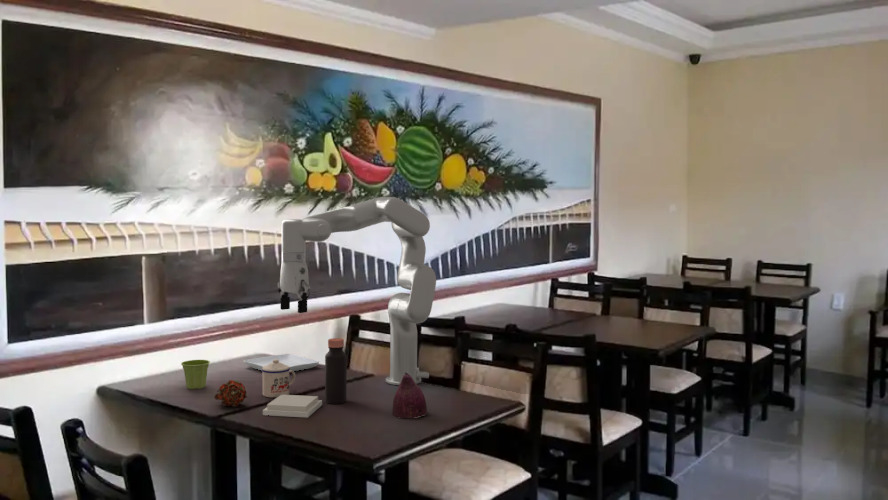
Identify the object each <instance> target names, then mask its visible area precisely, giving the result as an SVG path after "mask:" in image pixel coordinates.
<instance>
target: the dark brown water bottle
mask: <svg viewBox="0 0 888 500" xmlns="http://www.w3.org/2000/svg"><path fill="white" fill-rule="evenodd" d="M344 340H345V339H344V338H337V337H335V338H333V337H332V338H329V339H328V340H327V347H328V349H329V350H328V352H327V353H326V354H325V357H324V363H325V364H324V365H325V367H324V370H325V371H324V374H325V376H324V379H325V380H324V383H325V384H324V391H325V392H324V401H325V403H326V404H330V405H331V404H332V405H338V404H343V403H345V402H347V396H348V395H347V390H348V387H347V384H348V383H347V382H348V381H347V378H348V377H347V375H348V371H347V369H348V368H347V366H348V364H347V362H348V361H347V357H348V356H347V354H346V352H345V351H344V349H343V348H344V345H345V342H344Z"/></svg>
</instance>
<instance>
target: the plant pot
mask: <svg viewBox="0 0 888 500" xmlns="http://www.w3.org/2000/svg"><path fill="white" fill-rule="evenodd" d="M210 363H211V361H210V360H208V359H190V360H185V361H182V362H181V363H180V366H182V370H183V373H184V378H185V384H186V385H185V386H186V389H188V390H195V389H199V390H200V389H203V388H206V384H207V377H208V368H209V364H210Z"/></svg>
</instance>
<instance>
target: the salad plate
mask: <svg viewBox="0 0 888 500" xmlns="http://www.w3.org/2000/svg"><path fill="white" fill-rule="evenodd" d="M274 359H278V360H279V362H280V363H283V364H284V365H288V366H289V368H290V370H292V371H296V372H300V371H299V370H301V371H304V369H306V370H309V369H312V368H314V367H317V366H318V365H319V363H320V361H318V360H315V359H311V358H308V357H305V356H304V357H303V356H300V355H297V354H293V353H283V354H274V355H268V356H262V357H261V356H260V357H256V358H250V359H249V358H248V359H244V360H243V363H244V364H245V365H246V366H248V367H250V368H253V369H254V370H256V369H258V370H257V371H259V370H261V371H260V372H262V368H263V367H264V366H266V365H268V364H270V363H272V362H273V360H274Z"/></svg>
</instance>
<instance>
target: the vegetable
mask: <svg viewBox="0 0 888 500" xmlns="http://www.w3.org/2000/svg"><path fill="white" fill-rule="evenodd" d="M392 402H393V403H392V411H391V413H392V416H393V417H396V418H398V417H400V418H399V419H401V418H414V417H418V416H422V415H425V414H426V415H427V414H428V409H427V407H428V406H427V402H426V397H425V395H424V393H423V391H422V389H421V387H420V386H419V385H418V384H416V383H415V382H414V380H413V378H412V377H411V376H410V374H408V373H406V372H405V374H404V375H403V378H402V381H401V382H400V384H399V385H398V386H397V389H396V392H395V394H394V397H393V401H392Z"/></svg>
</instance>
